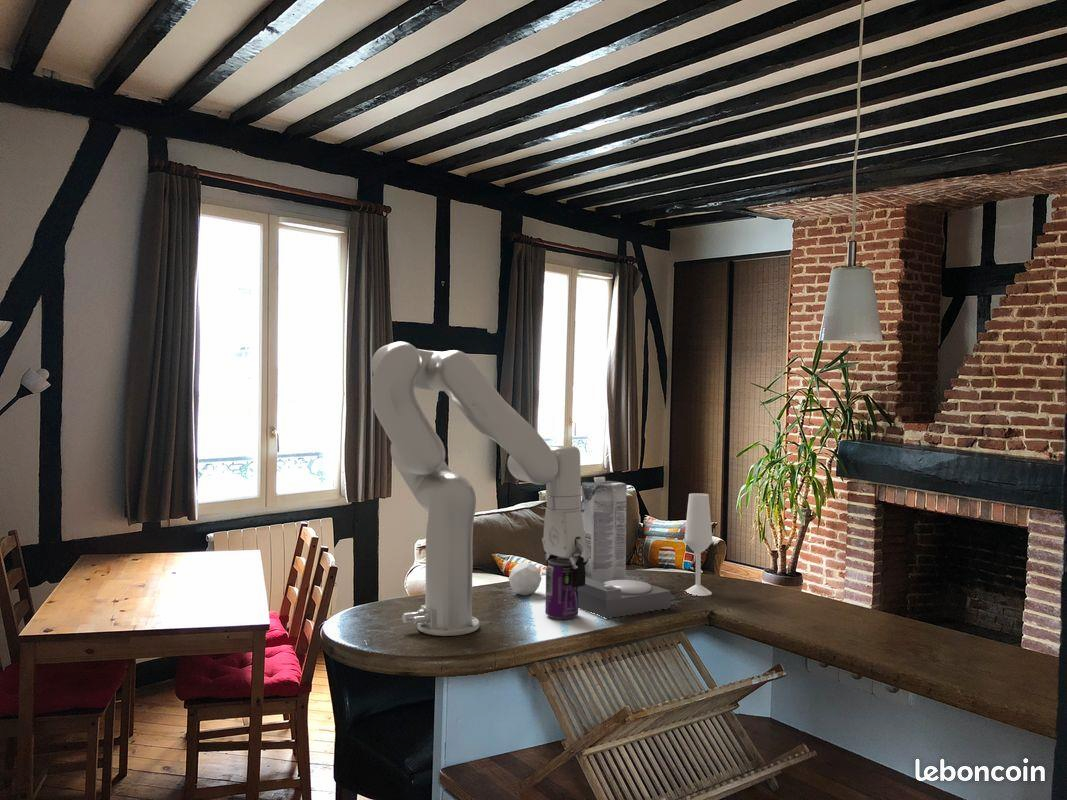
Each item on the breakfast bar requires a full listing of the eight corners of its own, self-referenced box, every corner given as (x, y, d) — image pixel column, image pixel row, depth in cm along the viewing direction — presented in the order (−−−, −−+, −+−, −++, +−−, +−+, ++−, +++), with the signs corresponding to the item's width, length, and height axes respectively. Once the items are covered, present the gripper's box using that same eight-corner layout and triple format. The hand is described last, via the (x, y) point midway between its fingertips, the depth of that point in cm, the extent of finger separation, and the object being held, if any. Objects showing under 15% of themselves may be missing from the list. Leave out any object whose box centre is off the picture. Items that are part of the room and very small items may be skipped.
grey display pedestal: (605, 619, 170) (606, 588, 170) (572, 605, 182) (572, 576, 182) (670, 608, 180) (670, 579, 180) (634, 596, 191) (634, 568, 191)
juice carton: (630, 583, 204) (631, 478, 204) (597, 588, 199) (598, 479, 199) (609, 576, 212) (610, 475, 212) (576, 581, 206) (577, 476, 206)
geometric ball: (528, 603, 194) (545, 575, 197) (531, 599, 186) (548, 570, 189) (502, 586, 195) (519, 558, 198) (503, 582, 187) (521, 553, 190)
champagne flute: (679, 592, 195) (680, 494, 195) (691, 587, 200) (692, 492, 200) (704, 597, 191) (705, 496, 190) (716, 591, 196) (717, 494, 196)
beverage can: (575, 622, 168) (576, 565, 168) (542, 619, 170) (543, 563, 170) (580, 613, 175) (580, 558, 175) (548, 611, 177) (549, 557, 177)
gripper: (528, 500, 178) (530, 576, 178) (571, 509, 163) (573, 592, 163) (557, 497, 182) (558, 572, 182) (601, 506, 167) (603, 587, 167)
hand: (565, 581), depth 173 cm, fingers open, 9 cm apart
